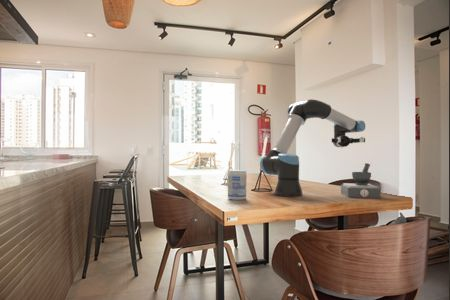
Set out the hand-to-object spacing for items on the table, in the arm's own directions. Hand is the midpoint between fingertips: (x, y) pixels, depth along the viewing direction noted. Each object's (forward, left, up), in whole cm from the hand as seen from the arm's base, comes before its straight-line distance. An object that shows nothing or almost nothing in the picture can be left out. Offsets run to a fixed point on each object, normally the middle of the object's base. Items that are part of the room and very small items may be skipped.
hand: (351, 139), depth 172 cm
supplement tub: (-66, -38, -32) cm, 83 cm away
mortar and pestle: (+2, -14, -26) cm, 30 cm away
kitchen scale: (0, -15, -32) cm, 35 cm away
